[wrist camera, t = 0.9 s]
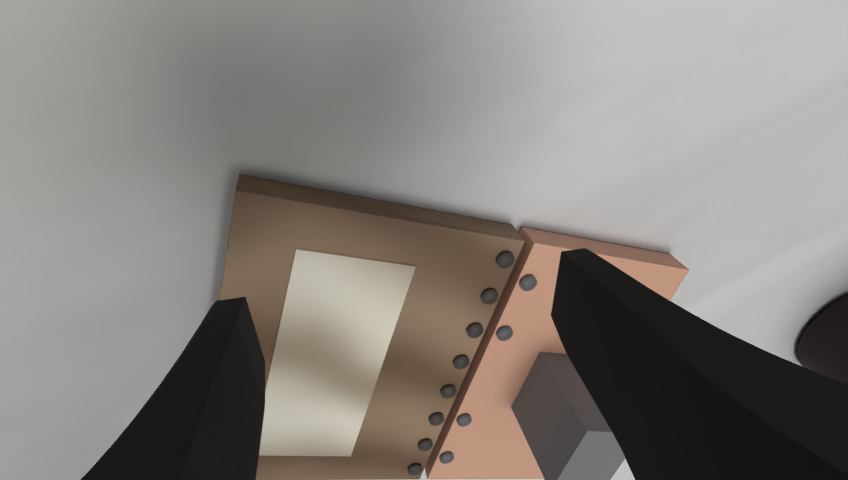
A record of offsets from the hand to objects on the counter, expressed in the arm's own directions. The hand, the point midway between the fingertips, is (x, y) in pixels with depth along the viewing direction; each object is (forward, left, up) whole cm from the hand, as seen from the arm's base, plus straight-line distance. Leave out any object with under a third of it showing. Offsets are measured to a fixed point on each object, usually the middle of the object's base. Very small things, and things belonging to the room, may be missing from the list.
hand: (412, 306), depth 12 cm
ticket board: (-10, -2, -10) cm, 14 cm away
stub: (-10, -13, -10) cm, 19 cm away
